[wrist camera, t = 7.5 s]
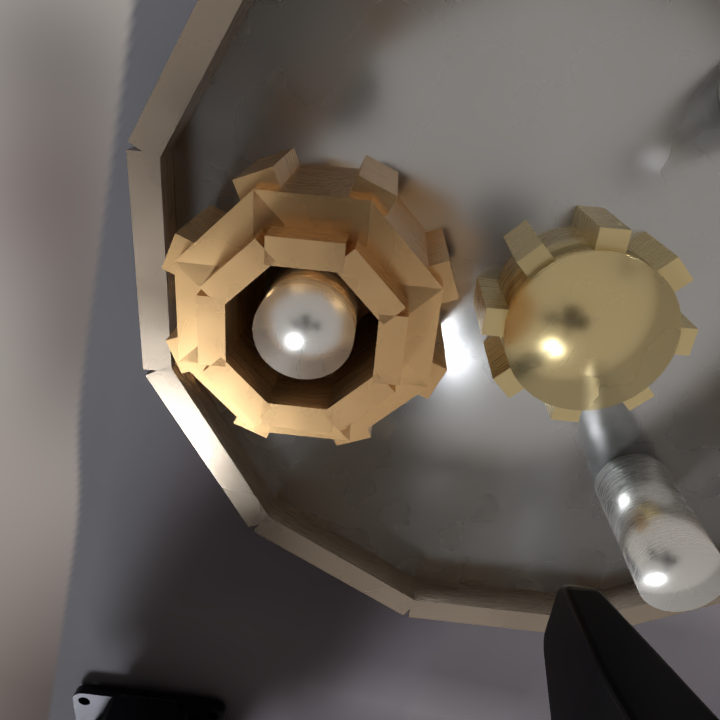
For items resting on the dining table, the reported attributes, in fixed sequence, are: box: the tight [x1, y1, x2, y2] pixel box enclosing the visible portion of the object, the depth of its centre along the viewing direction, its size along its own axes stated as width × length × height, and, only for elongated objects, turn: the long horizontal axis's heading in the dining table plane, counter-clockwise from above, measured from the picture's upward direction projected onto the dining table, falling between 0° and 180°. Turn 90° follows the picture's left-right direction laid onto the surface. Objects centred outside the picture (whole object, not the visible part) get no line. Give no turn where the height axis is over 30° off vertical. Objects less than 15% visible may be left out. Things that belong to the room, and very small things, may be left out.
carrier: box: [126, 0, 720, 632], centre depth 16 cm, size 23×23×5 cm
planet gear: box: [162, 148, 459, 445], centre depth 15 cm, size 7×7×4 cm
